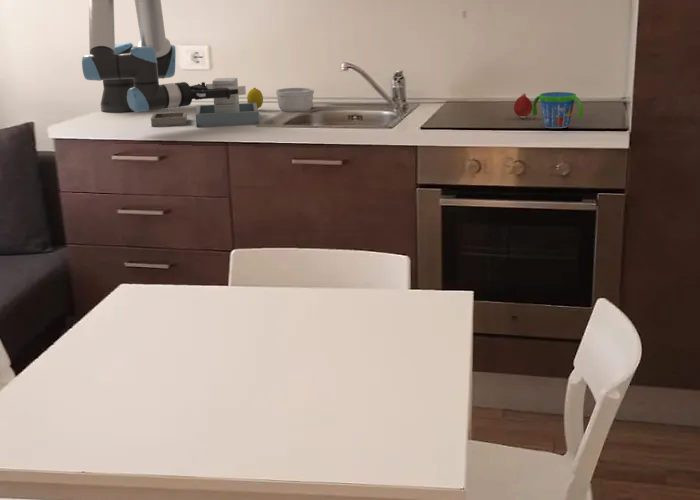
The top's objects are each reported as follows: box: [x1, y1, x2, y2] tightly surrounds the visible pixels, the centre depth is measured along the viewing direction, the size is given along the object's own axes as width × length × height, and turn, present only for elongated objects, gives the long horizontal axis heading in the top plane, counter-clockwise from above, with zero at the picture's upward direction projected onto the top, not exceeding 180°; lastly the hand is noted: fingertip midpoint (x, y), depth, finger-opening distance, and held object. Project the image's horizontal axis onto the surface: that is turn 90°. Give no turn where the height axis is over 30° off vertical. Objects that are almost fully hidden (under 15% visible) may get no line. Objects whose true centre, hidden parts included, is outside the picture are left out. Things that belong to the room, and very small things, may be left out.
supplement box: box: [212, 77, 240, 113], centre depth 290 cm, size 7×7×13 cm
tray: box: [195, 102, 260, 128], centre depth 292 cm, size 20×20×4 cm
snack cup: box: [531, 91, 584, 127], centre depth 261 cm, size 16×10×10 cm
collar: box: [150, 111, 188, 127], centre depth 291 cm, size 11×11×2 cm
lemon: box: [246, 87, 264, 109], centre depth 310 cm, size 6×6×8 cm
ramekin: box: [275, 87, 315, 113], centre depth 310 cm, size 13×13×7 cm
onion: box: [513, 93, 533, 117], centre depth 279 cm, size 6×6×8 cm
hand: (234, 88), depth 291 cm, fingers open, 13 cm apart
